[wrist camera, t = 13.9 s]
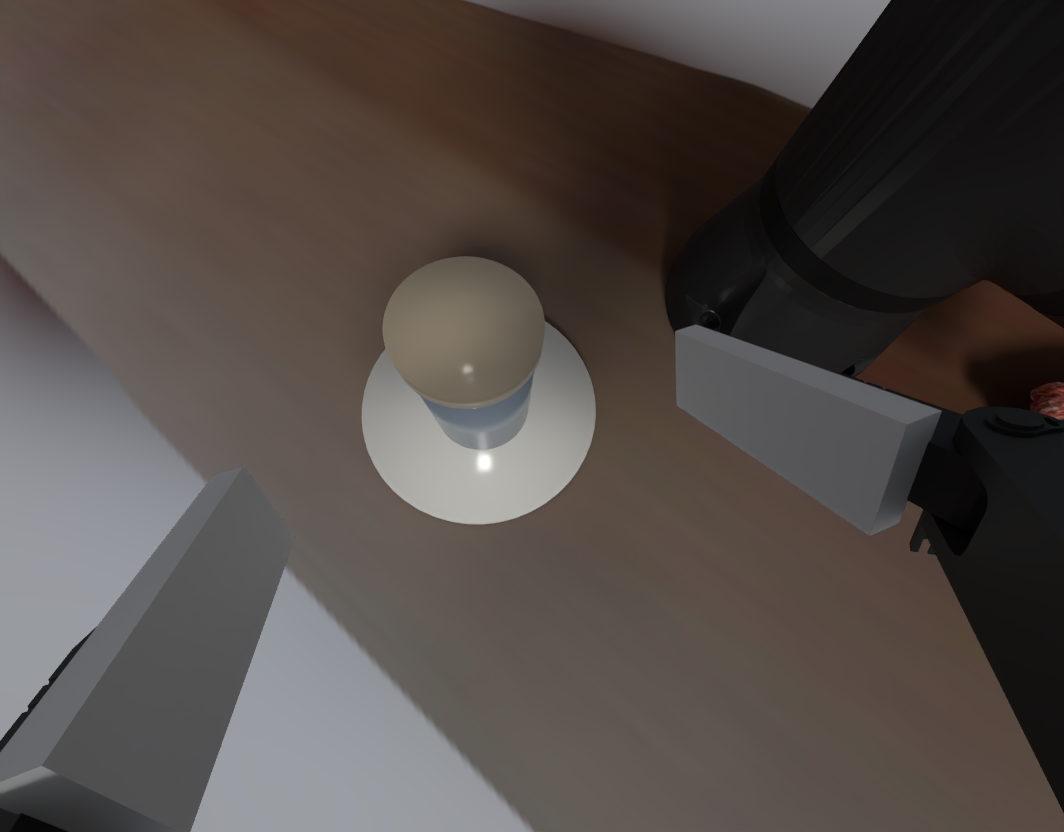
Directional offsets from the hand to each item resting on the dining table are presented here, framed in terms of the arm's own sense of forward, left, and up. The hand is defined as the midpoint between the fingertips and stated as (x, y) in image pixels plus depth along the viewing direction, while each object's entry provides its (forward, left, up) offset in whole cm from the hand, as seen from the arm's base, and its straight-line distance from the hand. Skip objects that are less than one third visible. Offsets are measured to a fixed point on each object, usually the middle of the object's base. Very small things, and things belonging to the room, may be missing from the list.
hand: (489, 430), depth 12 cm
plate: (-4, -3, -13) cm, 14 cm away
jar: (-4, -3, -12) cm, 13 cm away
